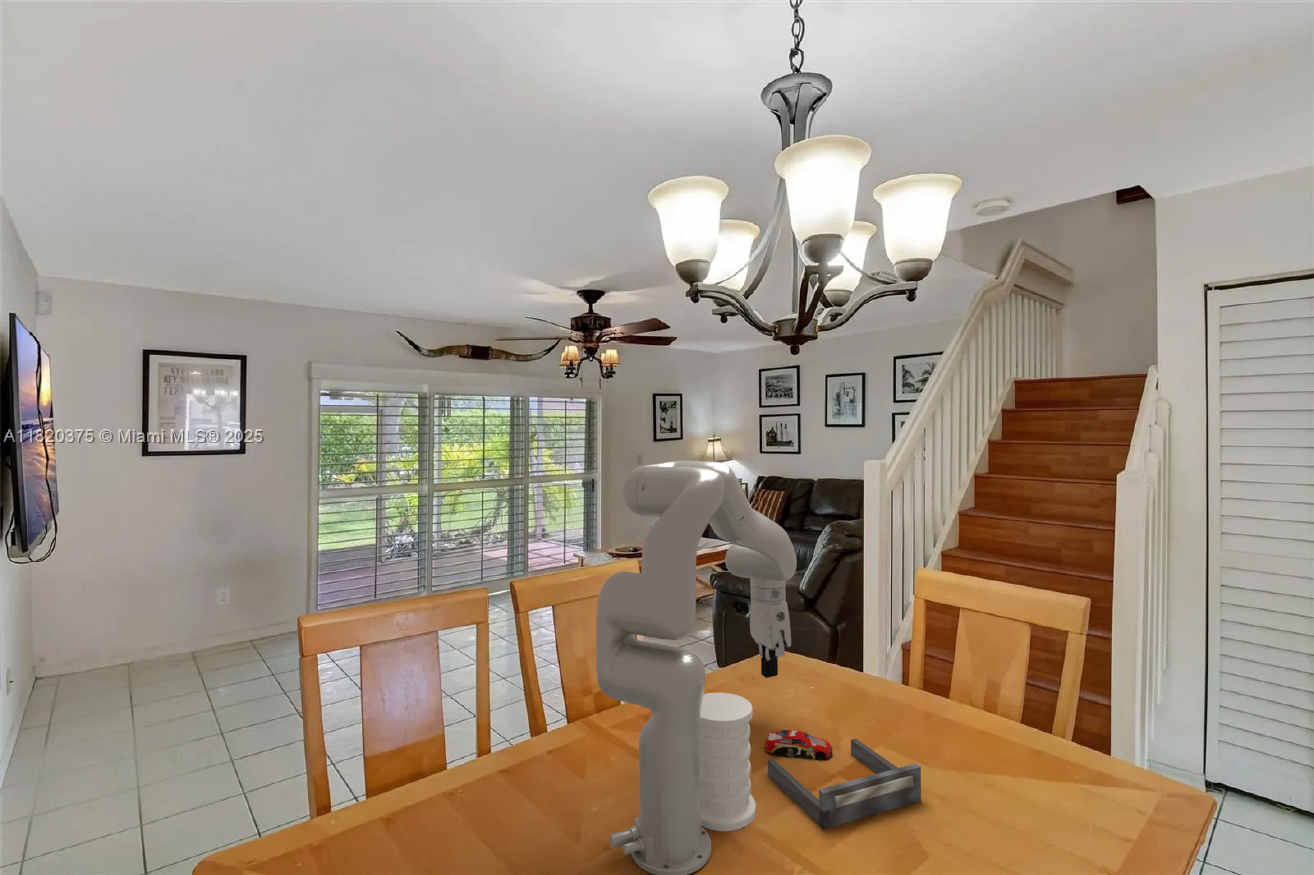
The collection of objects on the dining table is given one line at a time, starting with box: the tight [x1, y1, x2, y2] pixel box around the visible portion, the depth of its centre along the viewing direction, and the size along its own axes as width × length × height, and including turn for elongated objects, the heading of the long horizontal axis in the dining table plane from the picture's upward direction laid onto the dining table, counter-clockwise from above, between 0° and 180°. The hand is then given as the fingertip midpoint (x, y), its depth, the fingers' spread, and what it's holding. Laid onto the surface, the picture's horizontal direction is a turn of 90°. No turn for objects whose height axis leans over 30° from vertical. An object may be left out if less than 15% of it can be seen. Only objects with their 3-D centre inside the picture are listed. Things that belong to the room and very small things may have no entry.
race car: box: [765, 729, 834, 761], centre depth 126 cm, size 13×5×4 cm, turn 77°
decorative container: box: [700, 692, 757, 832], centre depth 107 cm, size 12×12×18 cm
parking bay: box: [767, 738, 922, 830], centre depth 113 cm, size 20×18×6 cm
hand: (769, 675), depth 136 cm, fingers closed
